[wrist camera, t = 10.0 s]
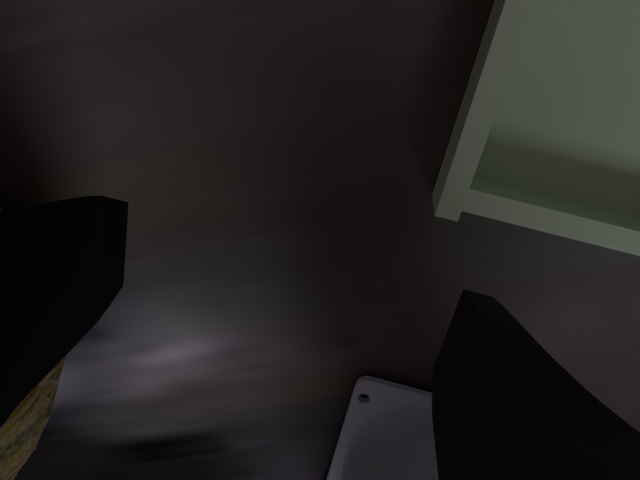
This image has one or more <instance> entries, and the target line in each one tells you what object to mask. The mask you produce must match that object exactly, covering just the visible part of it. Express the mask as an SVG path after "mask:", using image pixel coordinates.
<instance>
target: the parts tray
mask: <svg viewBox="0 0 640 480" xmlns="http://www.w3.org/2000/svg"><path fill="white" fill-rule="evenodd" d="M432 198H433V207H434V215H435V216H437V217H441V218H445V219H449V220H453V221H456V222H458V220H459V217H460V214H461V211H463V212H467V213H471V214H475V215H479V216H483V217H487V218H491V219H495V220H499V221H503V222H507V223H511V224H515V225H519V226H523V227H527V228H530V229H534V230H538V231H542V232H546V233H550V234H554V235H558V236H562V237H566V238H570V239H574V240H578V241H582V242H586V243H590V244H594V245H598V246H602V247H606V248H610V249H614V250H618V251H622V252H626V253H630V254H634V255H637V256H640V0H494V3H493V7H492V10H491V13H490V16H489V19H488V22H487V25H486V28H485V31H484V35H483V38H482V41H481V44H480V47H479V50H478V53H477V56H476V60H475V63H474V66H473V69H472V72H471V75H470V78H469V81H468V84H467V88H466V91H465V94H464V97H463V100H462V103H461V106H460V109H459V112H458V116H457V119H456V122H455V125H454V128H453V131H452V134H451V137H450V141H449V144H448V147H447V150H446V153H445V156H444V159H443V162H442V165H441V169H440V172H439V175H438V178H437V181H436V184H435V187H434V190H433V193H432Z"/></svg>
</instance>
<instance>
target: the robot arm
mask: <svg viewBox="0 0 640 480" xmlns="http://www.w3.org/2000/svg"><path fill="white" fill-rule="evenodd" d="M127 216H128V202H124V201H120V200H116V199H112V198H108V197H104V196H86V197H79V198H72V199H66V200H60V201H55V202H50V203H44V204H39V205H34V206H28V207H23V208H18V209H12V210H7V211H1V212H0V428H1V427H2V426H3V424H4V423H5V422H6V420H7V419H8V418H9V416H10V415H11V414H12V413H13V411H14V410H15V409H16V408H17V407H18V406H19V404H20V403H21V402H22V401H23V400H24V399H25V398H26V397H27V395H28V394H29V393H30V392H31V391H32V390H33V389H34V388H35V387H36V386H37V385H38V384H39V383H40V382H41V381H42V380H43V379H44V378H45V376H46V375H47V374H48V373H49V372H50V371H51V370H52V369H53V368H54V367H55V366H56V365H57V364H58V363H59V362H60V361H61V360H62V359H63V358H64V357H65V356H66V355H67V354H68V353H69V352H70V350H71V349H72V348H73V347H74V346H75V345H76V344H77V343H78V342H79V341H80V340H81V339H82V338H83V337H84V336H85V335H86V334H87V333H88V331H89V330H90V329H91V328H92V327H93V326H94V325H95V324H96V323H97V322H98V321H99V319H100V318H101V317H102V315H103V314H104V312H105V311H106V310H107V308H108V307H109V306H110V304H111V303H112V301H113V300H114V298H115V297H116V295H117V294H118V292H119V291H120V289H121V288H122V286H123V278H124V263H125V247H126V232H127ZM361 394H366V395H368V396H369V397H366V398H365V397H361V396H360V395H361ZM326 480H640V432H638V431H637V430H635V429H634V428H633V427H631V426H630V425H629V424H628V423H626V422H625V421H624V420H623V419H621V418H620V417H619V416H618V415H616V414H615V413H614V412H613V411H611V410H610V409H609V408H608V407H606V406H605V405H604V404H603V403H601V402H600V401H599V400H598V399H597V398H595V397H594V396H593V395H592V394H591V393H590V392H588V391H587V390H586V389H585V388H584V387H583V386H582V385H581V384H580V383H579V382H578V381H576V380H575V379H574V378H573V377H572V376H571V375H570V374H569V373H568V372H567V371H566V370H565V369H564V368H562V367H561V366H560V365H559V364H558V363H557V362H556V361H555V360H554V359H553V358H552V357H551V356H550V355H549V354H548V353H547V352H546V351H545V350H544V349H543V348H542V346H541V345H540V344H539V343H538V342H537V341H536V340H535V339H534V338H533V337H532V336H531V335H530V334H529V333H528V332H527V331H526V330H525V329H524V328H523V326H522V325H521V324H520V323H519V322H518V321H517V320H516V319H515V318H514V317H513V316H512V315H511V314H510V313H509V312H508V311H507V310H506V309H505V308H504V307H503V306H502V305H501V304H500V303H499V302H498V301H497V300H496V299H495V298H493V297H490V296H487V295H483V294H479V293H475V292H471V291H467V290H463V292H462V294H461V297H460V300H459V302H458V305H457V308H456V310H455V313H454V315H453V318H452V321H451V323H450V326H449V329H448V331H447V334H446V337H445V339H444V342H443V345H442V347H441V350H440V353H439V355H438V358H437V360H436V363H435V366H434V370H433V387H432V393H431V392H427V391H424V390H420V389H416V388H412V387H409V386H405V385H401V384H398V383H394V382H390V381H386V380H383V379H379V378H375V377H372V376H361V377H360V378H358V380H357V381H356V384H355V387H354V390H353V394H352V397H351V400H350V404H349V407H348V410H347V413H346V417H345V420H344V423H343V427H342V430H341V433H340V436H339V440H338V443H337V446H336V449H335V453H334V456H333V459H332V463H331V466H330V469H329V472H328V476H327V479H326Z"/></svg>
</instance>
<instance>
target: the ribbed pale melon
mask: <svg viewBox="0 0 640 480" xmlns="http://www.w3.org/2000/svg"><path fill="white" fill-rule="evenodd" d="M1 211H3V210H2V209H1V208H0V212H1ZM64 361H65V357H64V358H63V359H62V360H61V361H60V362H59V363H58V364H57V365H56V366H55V367H54V368H53V369H52V370H51V371H50V372H49V373H48V374H47V375H46V376H45V378H44V379H43V380H42V381H41V382H40V383H39V384H38V385H37V386H36V387H35V388H34V389H33V390H32V391H31V392H30V393H29V394H28V395H27V397H26V398H25V399H24V400H23V401H22V402H21V403H20V404H19V406H18V407H17V408H16V409H15V410H14V411H13V413H12V414H11V415H10V416H9V418H8V419H7V420H6V422H5V423H4V424H3V426H2V427H1V428H0V480H13V479H14V477H15V476H16V475H17V473H18V471H19V469H20V468H21V467H22V465H23V464H24V463H25V462H26V461H27V460H28V458H29V456H30V454H31V453H32V452H33V451H34V450H35V449H36V447H37V442H38V440H39V439H40V436H41V434H42V432H43V429H44V427H45V425H46V423H47V421H48V419H49V416H50V414H51V411H52V409H53V404H54V399H55V396H56V391H57V386H58V382H59V378H60V374H61V371H62V368H63V365H64Z"/></svg>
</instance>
